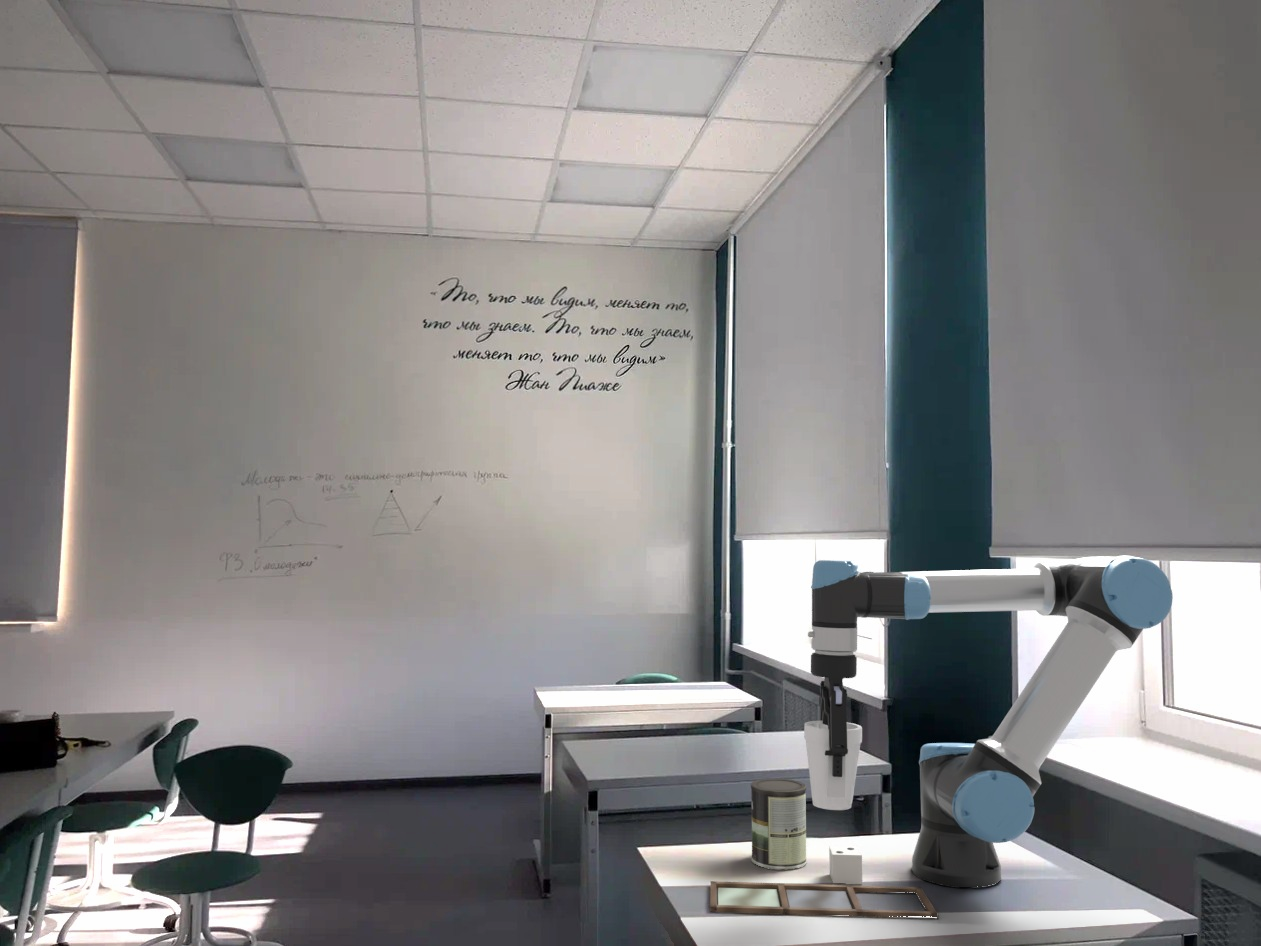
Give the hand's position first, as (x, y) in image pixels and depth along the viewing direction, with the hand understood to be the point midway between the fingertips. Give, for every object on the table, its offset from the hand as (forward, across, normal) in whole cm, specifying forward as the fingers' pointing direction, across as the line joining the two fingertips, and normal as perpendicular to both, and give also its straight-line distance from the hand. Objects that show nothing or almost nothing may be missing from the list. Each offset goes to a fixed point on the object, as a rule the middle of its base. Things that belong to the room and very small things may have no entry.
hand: (831, 789), depth 163 cm
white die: (+18, -12, +4) cm, 22 cm away
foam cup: (+3, 0, 0) cm, 3 cm away
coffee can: (+19, -21, -7) cm, 29 cm away
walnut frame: (+18, 0, -2) cm, 18 cm away
